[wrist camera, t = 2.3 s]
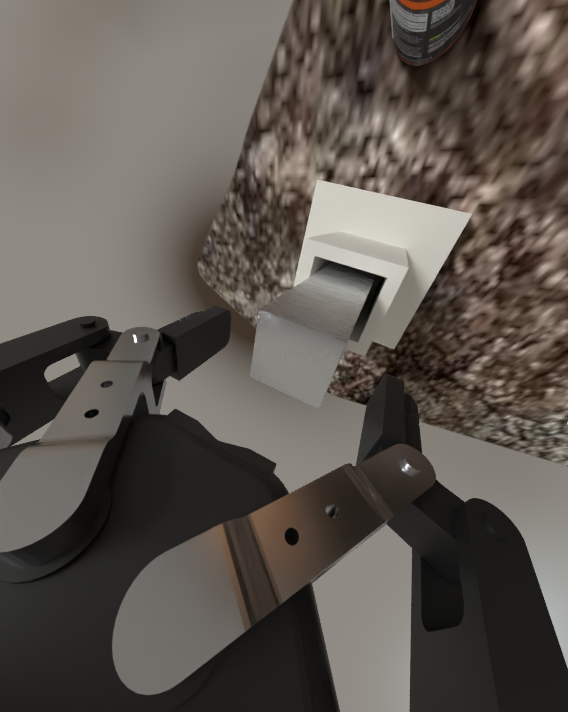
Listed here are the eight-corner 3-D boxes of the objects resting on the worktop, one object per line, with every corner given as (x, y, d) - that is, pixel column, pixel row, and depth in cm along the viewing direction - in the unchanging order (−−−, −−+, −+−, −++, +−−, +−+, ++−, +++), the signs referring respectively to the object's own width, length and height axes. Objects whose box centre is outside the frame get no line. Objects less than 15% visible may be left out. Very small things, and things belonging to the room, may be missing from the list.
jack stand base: (468, 214, 23) (539, 210, 11) (394, 344, 32) (390, 418, 20) (320, 181, 27) (256, 152, 15) (291, 306, 36) (237, 350, 24)
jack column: (382, 261, 26) (346, 342, 9) (366, 297, 29) (316, 414, 12) (348, 251, 27) (259, 309, 10) (336, 287, 30) (248, 382, 13)
